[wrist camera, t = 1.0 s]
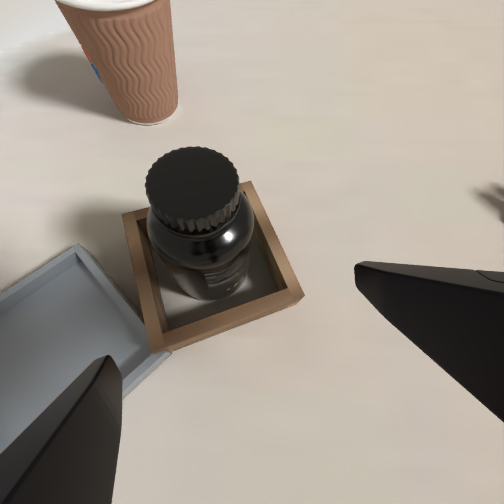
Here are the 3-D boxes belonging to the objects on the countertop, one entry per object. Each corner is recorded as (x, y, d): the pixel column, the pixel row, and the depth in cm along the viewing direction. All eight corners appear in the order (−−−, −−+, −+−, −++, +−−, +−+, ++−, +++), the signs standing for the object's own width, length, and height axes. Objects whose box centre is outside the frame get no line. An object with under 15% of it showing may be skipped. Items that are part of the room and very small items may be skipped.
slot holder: (296, 304, 23) (304, 295, 20) (161, 355, 20) (150, 353, 18) (249, 199, 27) (250, 180, 25) (134, 231, 25) (122, 214, 22)
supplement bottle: (252, 239, 25) (265, 141, 14) (243, 307, 22) (250, 248, 12) (184, 229, 25) (146, 124, 14) (166, 296, 22) (101, 228, 12)
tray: (172, 353, 21) (166, 351, 19) (18, 496, 16) (-9, 512, 15) (90, 252, 24) (78, 243, 22) (-57, 352, 20) (-86, 350, 18)
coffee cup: (130, 74, 35) (83, -60, 24) (202, 91, 34) (187, -38, 23) (91, 124, 30) (11, -12, 20) (173, 144, 30) (138, 16, 19)
